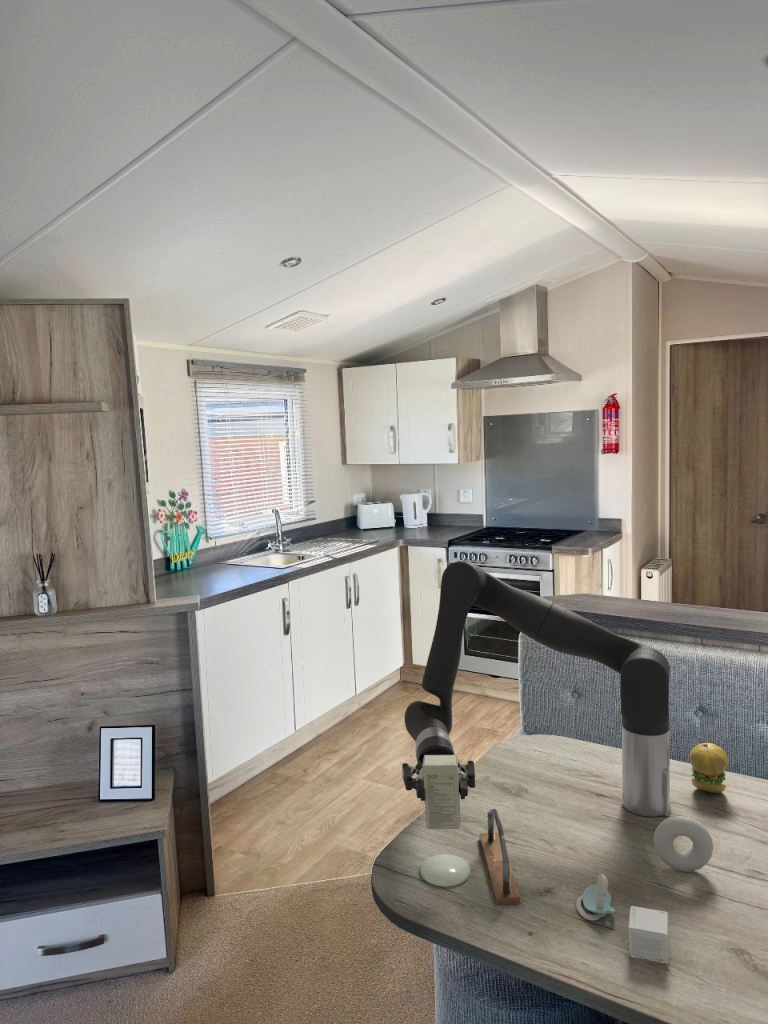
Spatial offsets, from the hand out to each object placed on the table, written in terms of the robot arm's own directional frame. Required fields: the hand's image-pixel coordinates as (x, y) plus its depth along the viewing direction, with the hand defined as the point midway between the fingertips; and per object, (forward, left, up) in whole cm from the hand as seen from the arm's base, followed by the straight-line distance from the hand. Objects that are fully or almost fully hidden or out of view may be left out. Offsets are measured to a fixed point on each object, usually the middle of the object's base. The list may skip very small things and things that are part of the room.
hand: (443, 795), depth 131 cm
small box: (-35, +6, -16) cm, 39 cm away
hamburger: (-43, -48, -16) cm, 67 cm away
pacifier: (-26, -1, -16) cm, 31 cm away
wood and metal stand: (-8, -6, -16) cm, 19 cm away
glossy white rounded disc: (+1, -2, -16) cm, 16 cm away
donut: (-39, -17, -16) cm, 45 cm away
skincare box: (+1, -2, -7) cm, 7 cm away
